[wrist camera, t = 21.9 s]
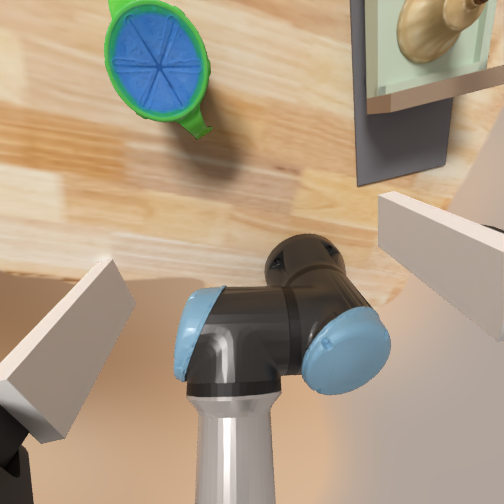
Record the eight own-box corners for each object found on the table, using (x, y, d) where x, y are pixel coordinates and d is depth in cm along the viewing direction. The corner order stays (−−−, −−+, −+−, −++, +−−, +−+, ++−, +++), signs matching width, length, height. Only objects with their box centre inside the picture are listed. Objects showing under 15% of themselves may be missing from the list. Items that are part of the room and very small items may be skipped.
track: (443, 164, 44) (459, 167, 41) (357, 185, 44) (366, 189, 41) (472, -101, 30) (499, -126, 27) (347, -67, 31) (360, -88, 28)
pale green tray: (451, 92, 38) (505, 83, 31) (359, 115, 39) (390, 112, 31) (467, -59, 31) (543, -117, 24) (354, -29, 32) (394, -77, 24)
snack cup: (107, 33, 33) (60, -3, 24) (179, -9, 32) (159, -63, 23) (172, 152, 40) (155, 160, 30) (234, 121, 38) (235, 120, 29)
